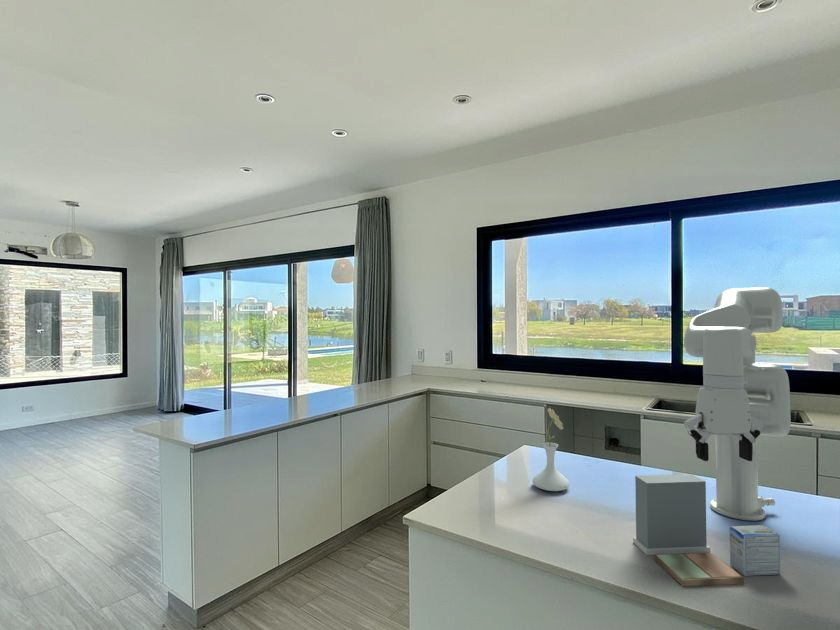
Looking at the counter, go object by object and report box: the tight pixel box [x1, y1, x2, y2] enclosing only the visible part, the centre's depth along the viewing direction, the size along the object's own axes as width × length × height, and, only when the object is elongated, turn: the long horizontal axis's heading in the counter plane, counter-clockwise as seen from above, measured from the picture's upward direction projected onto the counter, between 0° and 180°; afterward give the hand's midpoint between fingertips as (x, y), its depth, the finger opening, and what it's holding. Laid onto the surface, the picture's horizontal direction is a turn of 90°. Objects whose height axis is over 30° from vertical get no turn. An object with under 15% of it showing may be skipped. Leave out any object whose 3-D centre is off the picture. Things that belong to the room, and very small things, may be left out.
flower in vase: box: [532, 407, 570, 492], centre depth 145 cm, size 13×11×25 cm
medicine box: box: [729, 524, 781, 577], centre depth 96 cm, size 8×4×9 cm, turn 92°
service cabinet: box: [632, 473, 711, 556], centre depth 106 cm, size 15×6×16 cm, turn 93°
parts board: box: [653, 551, 745, 587], centre depth 96 cm, size 13×10×1 cm
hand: (724, 459), depth 101 cm, fingers open, 9 cm apart
